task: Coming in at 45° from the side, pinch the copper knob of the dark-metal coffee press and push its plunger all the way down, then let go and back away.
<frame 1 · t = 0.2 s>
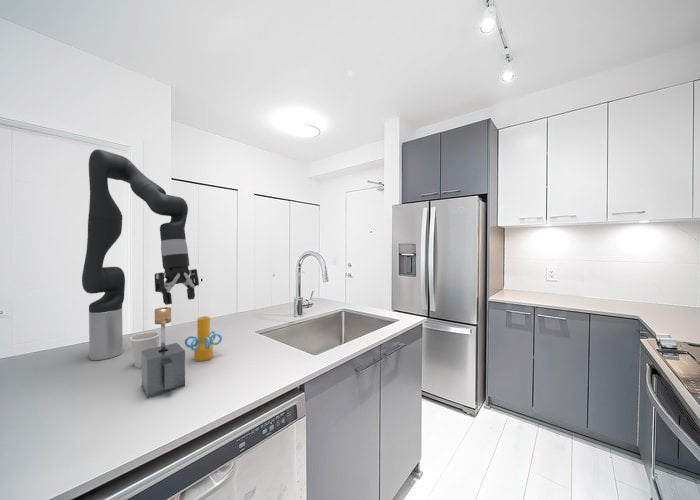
hand: (180, 301, 89), 23 cm above the worktop, tool pointing down, fingers open, 8 cm apart
dixie cup: (145, 364, 93), on the worktop
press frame: (163, 386, 79), on the worktop
plunger: (163, 334, 78), point 15 cm above the worktop, slide at 0.0 cm
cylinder: (203, 358, 99), on the worktop
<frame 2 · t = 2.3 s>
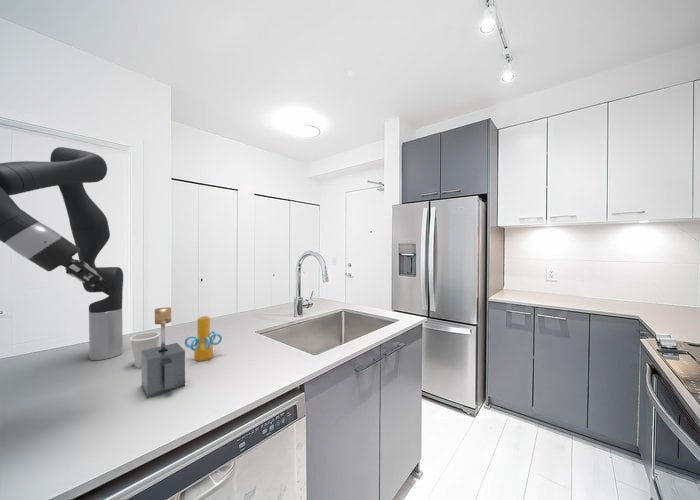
hand: (111, 290, 70), 30 cm above the worktop, tool tilted 45°, fingers open, 8 cm apart
nothing on the worktop moved.
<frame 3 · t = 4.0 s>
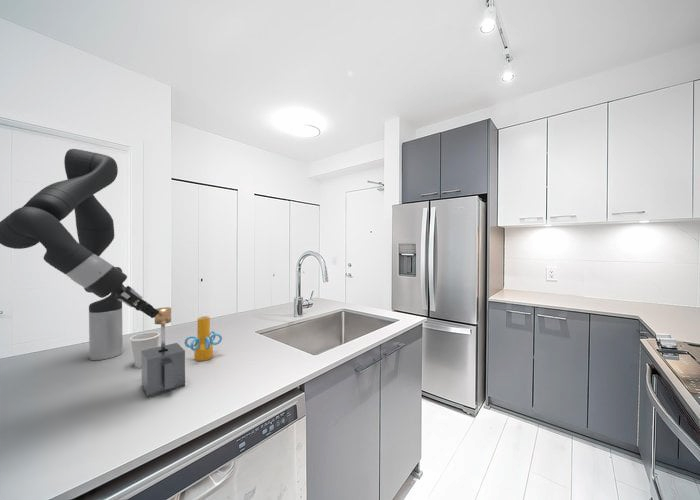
hand: (153, 312, 77), 22 cm above the worktop, tool tilted 45°, fingers open, 8 cm apart
nothing on the worktop moved.
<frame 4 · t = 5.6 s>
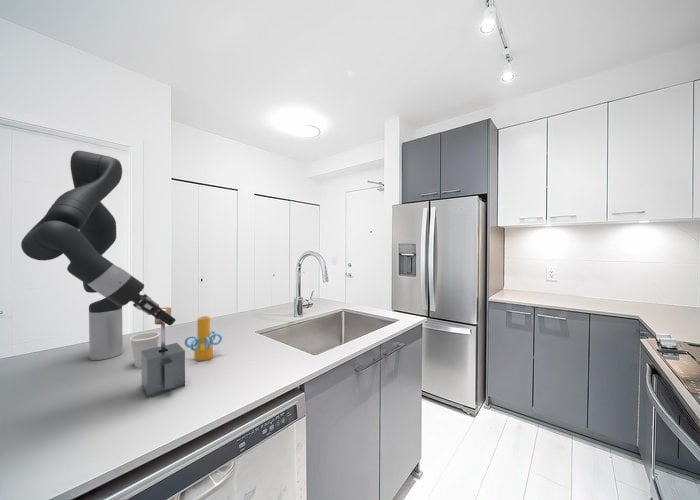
hand: (170, 320, 80), 19 cm above the worktop, tool tilted 45°, fingers closed on plunger, 4 cm apart
plunger: (163, 334, 78), point 15 cm above the worktop, slide at 0.0 cm, touching gripper
everything else where it was.
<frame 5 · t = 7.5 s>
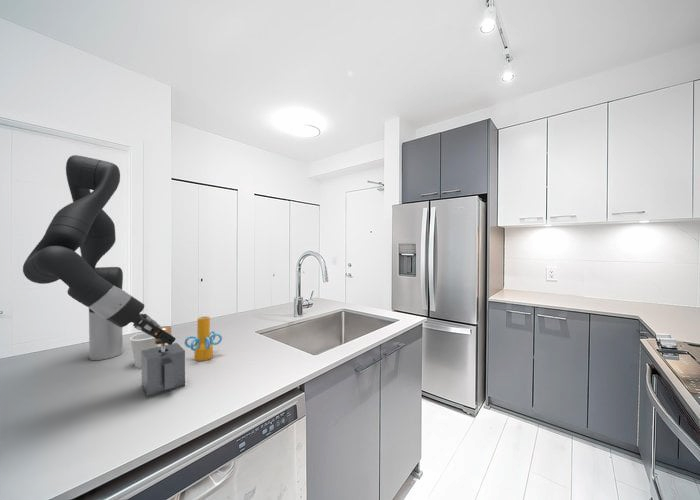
hand: (170, 339, 80), 13 cm above the worktop, tool tilted 45°, fingers closed on plunger, 4 cm apart
plunger: (163, 354, 79), point 10 cm above the worktop, slide at 5.7 cm, touching gripper
everything else where it was.
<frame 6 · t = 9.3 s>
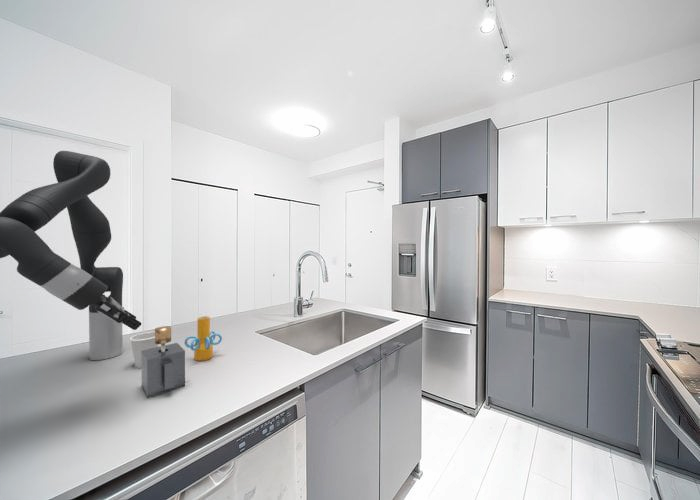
hand: (135, 323, 74), 20 cm above the worktop, tool tilted 45°, fingers open, 8 cm apart
plunger: (163, 354, 79), point 10 cm above the worktop, slide at 5.7 cm
everything else where it was.
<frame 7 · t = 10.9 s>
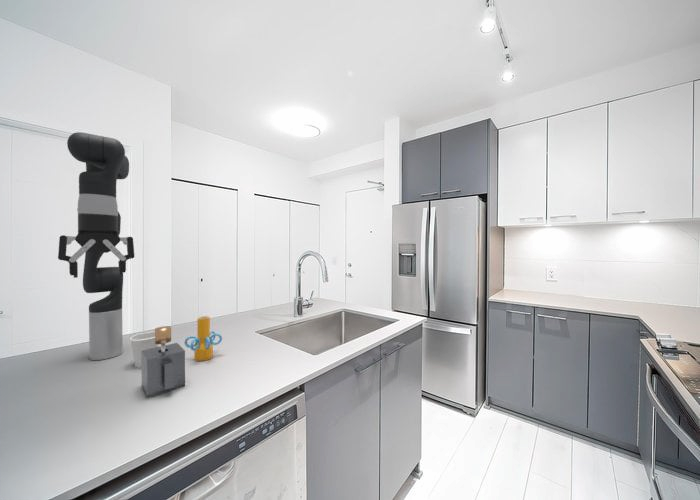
hand: (99, 275, 69), 34 cm above the worktop, tool pointing down, fingers open, 8 cm apart
nothing on the worktop moved.
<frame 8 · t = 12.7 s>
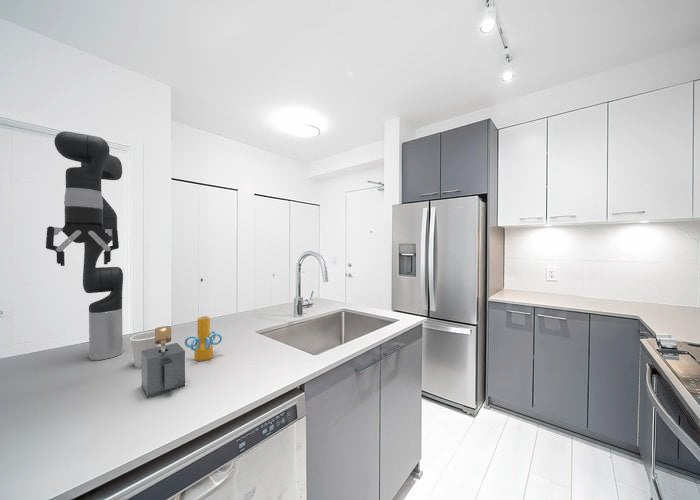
hand: (84, 265, 74), 36 cm above the worktop, tool pointing down, fingers open, 8 cm apart
nothing on the worktop moved.
at the end: plunger slide at 5.7 cm; the gripper is holding nothing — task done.
